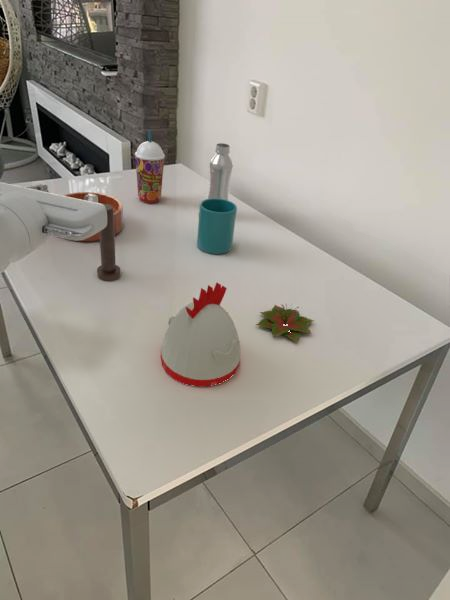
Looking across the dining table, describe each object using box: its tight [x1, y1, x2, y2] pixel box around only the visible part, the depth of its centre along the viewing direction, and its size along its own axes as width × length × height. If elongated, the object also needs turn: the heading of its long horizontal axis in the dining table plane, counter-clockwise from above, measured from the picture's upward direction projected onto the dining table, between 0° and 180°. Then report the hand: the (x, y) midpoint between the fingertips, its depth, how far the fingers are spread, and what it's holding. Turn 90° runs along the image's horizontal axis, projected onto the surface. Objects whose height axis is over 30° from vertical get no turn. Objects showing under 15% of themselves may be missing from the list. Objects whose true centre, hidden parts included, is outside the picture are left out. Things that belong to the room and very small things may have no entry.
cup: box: [196, 198, 238, 255], centre depth 113 cm, size 9×12×11 cm
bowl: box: [62, 191, 124, 243], centre depth 116 cm, size 18×18×6 cm
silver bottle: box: [207, 142, 234, 201], centre depth 126 cm, size 6×7×20 cm
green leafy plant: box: [255, 303, 314, 344], centre depth 89 cm, size 12×12×5 cm
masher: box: [96, 204, 122, 282], centre depth 95 cm, size 5×5×16 cm
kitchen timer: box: [160, 282, 241, 387], centre depth 76 cm, size 14×14×15 cm
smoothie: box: [134, 130, 166, 204], centre depth 130 cm, size 8×8×20 cm
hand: (68, 193), depth 76 cm, fingers open, 8 cm apart
